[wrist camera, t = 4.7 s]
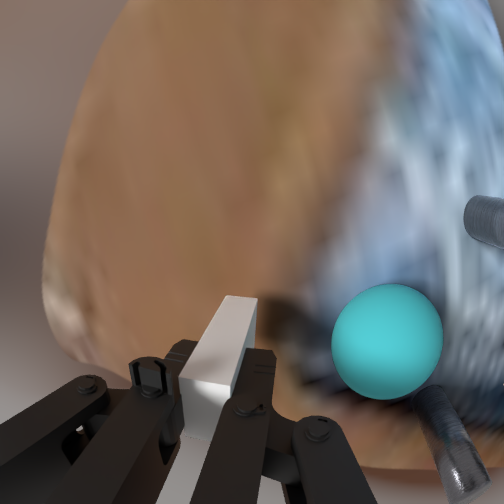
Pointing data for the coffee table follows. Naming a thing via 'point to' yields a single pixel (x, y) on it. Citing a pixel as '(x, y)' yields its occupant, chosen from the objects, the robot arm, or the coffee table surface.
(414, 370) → the ball
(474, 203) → the gate post
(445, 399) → the gate post
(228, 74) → the coffee table surface
